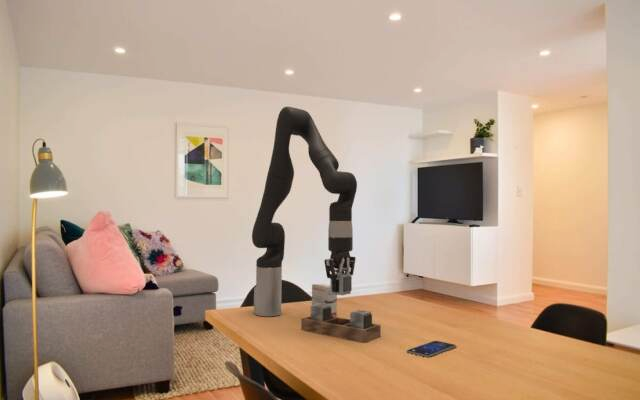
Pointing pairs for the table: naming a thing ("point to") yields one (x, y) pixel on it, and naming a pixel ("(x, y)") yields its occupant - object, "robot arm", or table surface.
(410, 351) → the smartphone
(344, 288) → the grey cube
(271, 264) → the robot arm
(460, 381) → the table surface
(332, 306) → the ink box
